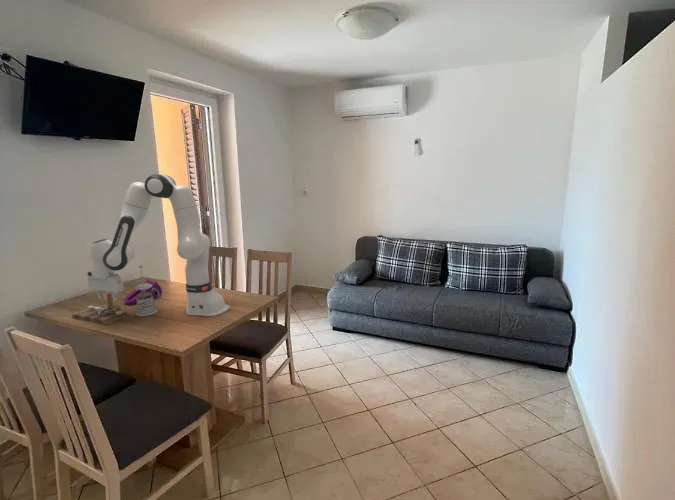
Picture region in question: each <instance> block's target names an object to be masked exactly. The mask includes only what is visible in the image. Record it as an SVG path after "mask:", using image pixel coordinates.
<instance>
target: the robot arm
mask: <svg viewBox="0 0 675 500" xmlns="http://www.w3.org/2000/svg"><path fill="white" fill-rule="evenodd" d="M154 198H162V199H167V200H169V202H170V203H171V208H172V210H173V214H174V215H173V216H174V218H175V223H176V229H177V246H176V252H177V254H178V256H179V257H180V258H182V259H184V260H186V263H185V269H184V272H185V281H186V283H185V291H186V306H185V307H186V308H185V311H186V312H185V315H187V316H199V317H200V316H202V317H216V316H218V315H221V314H223V313H225V312H227V311H229V310H230V309H231V306H230V305H229V304H226V303H225V302H226V301H225V298H224V296H222V295H221V294H219V292H218V291H216V290H215V289H214V288H213V287H214V285H215V284H214V283H211V281H210V274H209V259H210V246H211V239H210V238H209V236H208V235H207V234H205V233H202V232H201V228H200V227H201V218H200V215H199V211H198V207H197V203H196V199H195V197H194V194H193V192H192V190H191V188H190V187H189V186H188V185H185V184H178V185H177V183H176V181H175V179H174V178H172V177H171V176H170V175H167V174H164V173H154V174H150V175H149V176H148V177H147V178H146V179H145V181H144V182H141V181H134V182H132V183H130V186H129V187H128V188H127V191H126V193H125V196H124V199H123V202H122V206H121V211H120V216H119V219H118V225H117V228H116V230H115V234H114V236H113V239H112V241H111V240H110V239H108V238H107V239H106V238H103V239H99V240H95V241H93V242H92V243H91V244H90V258H91V261H92V269H91V270H89V271H86V276H87V282H88V287H89V289H90V290H93V291H95V293H96V294H97V296H98V299H101V300H103V299H104V295H103V294H104V293H107V292H109V293H111V295H113V296H112V302H115V301H118V295H119V294H120V293H123V292H124V290H125V288H124V283H123V279H122V277H121V276H120V275H119V273H118V274H117V273H116V272H115V271H122V270H123V269H124V268H125V267H126V266H127V265H128V264H129V263H130V262H131V261H132V260H133V259H134V257H135V251H134V249H133V248H132V246H129V244H130V239H131V236H132V234H133V232H134V231H135V230H136V228H137V227H138V226H139V225H140V224H141V223H143V222H144V220H145V218H146V217H147V215H148V212H149V208H150V204H151V201H152V200H153V199H154ZM103 292H104V293H103ZM228 309H229V310H228Z"/></svg>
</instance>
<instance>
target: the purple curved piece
mask: <svg viewBox="0 0 675 500" xmlns="http://www.w3.org/2000/svg"><path fill="white" fill-rule="evenodd" d="M143 283H147V284H151V285H152V287H151V288H149V289H145V290H136V289H135V288H134V290H133V291H131V292H130V293H129V294H128V295H126V297H124V299H123V301H124V303H125V305H127V306H132V305H135V304H137V300H136V298H137V294H140V293H145V292H151V293H152V295H153V299H154V300H157V299H158V297H159V298H160V297H161V296H162V294H163V289H162V287H161V286H160V285H159V283H158V281H154V280H150V279H146V280H145V281H143ZM152 288H153V291H152ZM154 288H155V290H154ZM156 289H157V290H158V291H159V296H158V292H157V291H156ZM147 298H151V297H147Z"/></svg>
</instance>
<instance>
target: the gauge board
mask: <svg viewBox="0 0 675 500" xmlns="http://www.w3.org/2000/svg"><path fill="white" fill-rule="evenodd" d="M102 309H104V306H103V307H102V306H93V305H90V306H87V308H85V309H82V310H79V311H77V312H73V313H72V314H71V318H72V319H75V320H76V319H77V320H81V321H86V322H92V323H97V324H102V325H107V324H111V323H113V322H116V321H118V320H120V319H123V318H126V317H128V316H129V312H128V311H126V310H122V309H121V305H120V304H114V306H111V307H109V309H110V310H107V311H106V310H105V311H103V312H100V315H98V311H99V310H102Z"/></svg>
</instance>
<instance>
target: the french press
mask: <svg viewBox="0 0 675 500" xmlns="http://www.w3.org/2000/svg"><path fill="white" fill-rule="evenodd" d="M143 267H144V265H143V264H139V266H138V268H139V269H140V272H141V274H143V272H142V269H143ZM141 279H142V281H141V282H142V283H140V284H137V285H136V286H134V290H135V289H136V290H145V289H149V288H151V287H152V285H151V284H147V283H144V281H143V280H144V278H143V276H141ZM154 290H155V288H154ZM152 291H153V288H152ZM156 291H157V292H158V296H159V291H158V290H157V289H156ZM148 297H151V298H148ZM159 298H160V297H158V298H157V299H153V295H152V293H151V292H145V293H140V294H137V298H136V300H137V303H136V305H137V312H136V313H135V315H136V316H137V317H138V316H139V317H145V316H151V315H154V314H156V313H158V310H157V309H156V305H155V303H156V302H158V300H159Z"/></svg>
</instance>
